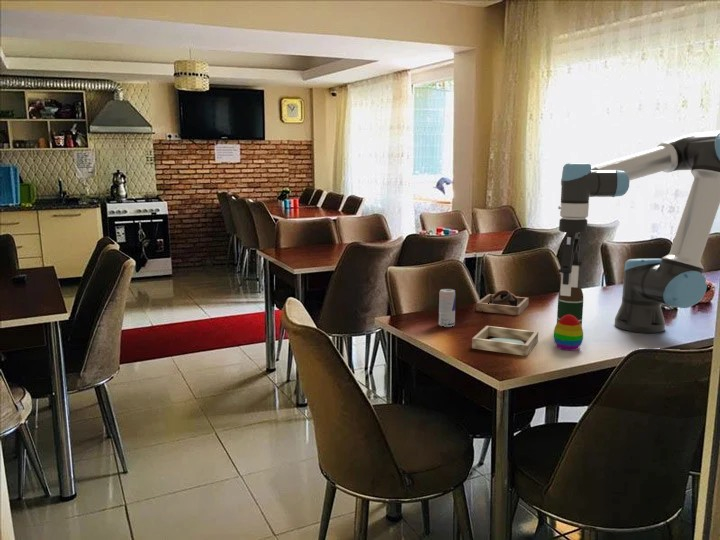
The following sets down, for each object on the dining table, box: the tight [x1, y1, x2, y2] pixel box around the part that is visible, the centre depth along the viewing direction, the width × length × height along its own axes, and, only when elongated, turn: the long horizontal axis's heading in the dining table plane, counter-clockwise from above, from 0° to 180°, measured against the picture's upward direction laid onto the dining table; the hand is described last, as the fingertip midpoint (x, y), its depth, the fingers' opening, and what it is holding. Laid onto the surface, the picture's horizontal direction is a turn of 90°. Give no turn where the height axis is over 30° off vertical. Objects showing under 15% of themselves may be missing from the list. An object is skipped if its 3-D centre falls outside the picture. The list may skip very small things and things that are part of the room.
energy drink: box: [438, 288, 456, 328], centre depth 199 cm, size 5×5×12 cm
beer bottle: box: [556, 265, 584, 327], centre depth 189 cm, size 8×8×24 cm
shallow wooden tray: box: [471, 325, 539, 357], centre depth 177 cm, size 16×16×3 cm
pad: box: [488, 337, 525, 344], centre depth 178 cm, size 11×11×1 cm
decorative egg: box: [553, 314, 584, 351], centre depth 174 cm, size 8×8×10 cm
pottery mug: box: [491, 289, 519, 306], centre depth 223 cm, size 12×10×8 cm
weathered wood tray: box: [475, 293, 530, 316], centre depth 224 cm, size 16×18×3 cm
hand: (569, 291), depth 172 cm, fingers open, 13 cm apart
